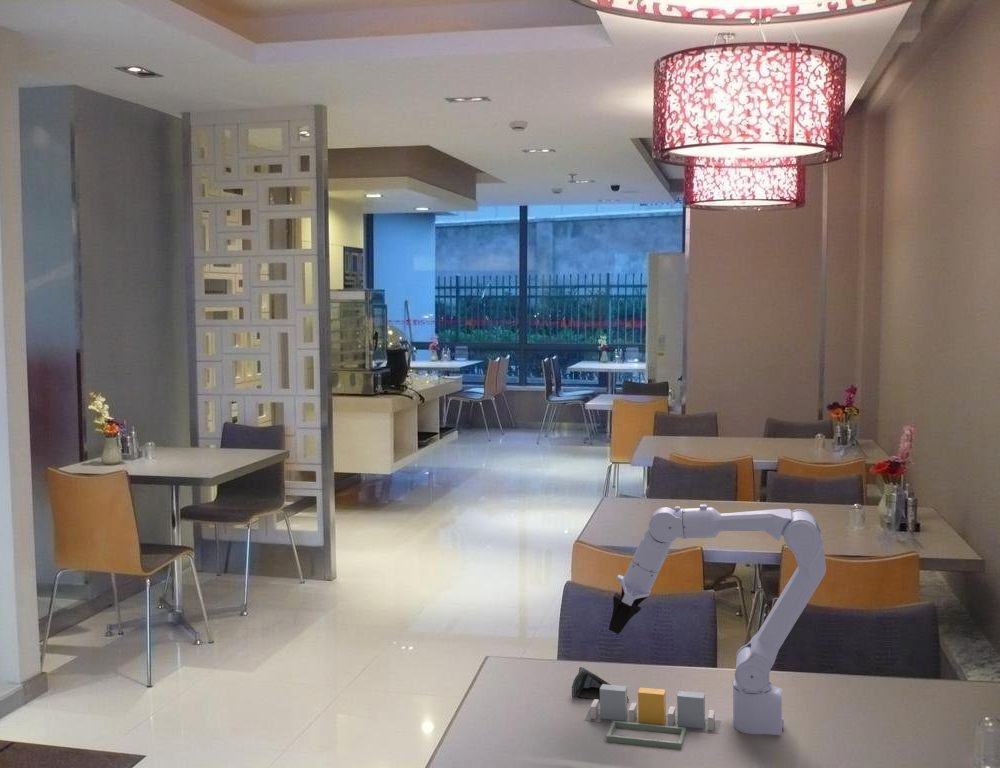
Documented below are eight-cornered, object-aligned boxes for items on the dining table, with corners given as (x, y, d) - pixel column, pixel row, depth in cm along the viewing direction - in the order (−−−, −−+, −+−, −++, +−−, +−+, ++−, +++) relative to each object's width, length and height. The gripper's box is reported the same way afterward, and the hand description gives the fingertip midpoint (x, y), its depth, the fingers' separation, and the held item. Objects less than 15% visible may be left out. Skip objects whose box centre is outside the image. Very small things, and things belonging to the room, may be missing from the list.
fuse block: (721, 725, 199) (720, 708, 198) (718, 738, 193) (718, 721, 193) (590, 713, 206) (590, 696, 206) (584, 725, 201) (583, 708, 200)
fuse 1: (627, 715, 202) (627, 686, 202) (625, 720, 200) (624, 691, 199) (602, 713, 204) (602, 684, 203) (600, 718, 201) (599, 689, 201)
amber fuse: (665, 719, 200) (665, 689, 199) (664, 724, 198) (663, 694, 197) (640, 716, 201) (640, 687, 201) (638, 722, 199) (638, 692, 198)
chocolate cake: (636, 697, 215) (598, 653, 219) (632, 701, 208) (593, 655, 212) (603, 727, 215) (566, 682, 219) (598, 732, 209) (559, 685, 212)
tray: (685, 737, 194) (685, 727, 194) (681, 754, 187) (681, 743, 187) (613, 730, 198) (613, 720, 198) (606, 746, 191) (606, 735, 191)
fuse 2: (705, 722, 198) (704, 693, 197) (703, 728, 195) (703, 698, 195) (679, 720, 199) (678, 690, 199) (677, 725, 197) (677, 695, 196)
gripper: (633, 547, 206) (606, 605, 208) (620, 565, 192) (591, 626, 194) (664, 563, 204) (637, 621, 207) (654, 582, 190) (625, 644, 193)
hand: (617, 625), depth 200 cm, fingers open, 7 cm apart
